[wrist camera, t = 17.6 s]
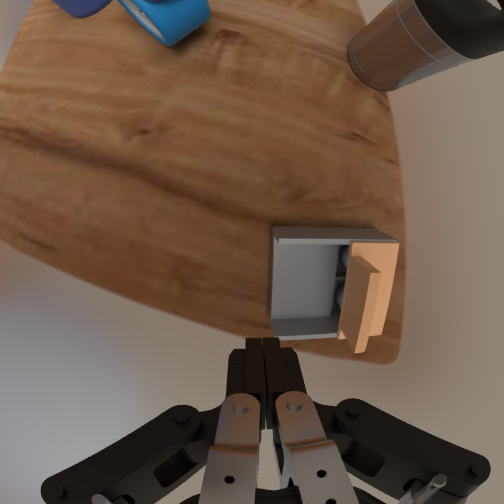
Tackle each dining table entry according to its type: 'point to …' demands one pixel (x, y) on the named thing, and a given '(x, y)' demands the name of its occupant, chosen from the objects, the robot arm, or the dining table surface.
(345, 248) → the blue-grey rounded cylinder
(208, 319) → the dining table surface
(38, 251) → the dining table surface
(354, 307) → the lid
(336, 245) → the housing
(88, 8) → the water bottle
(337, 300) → the grey rounded cylinder
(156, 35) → the alarm clock
